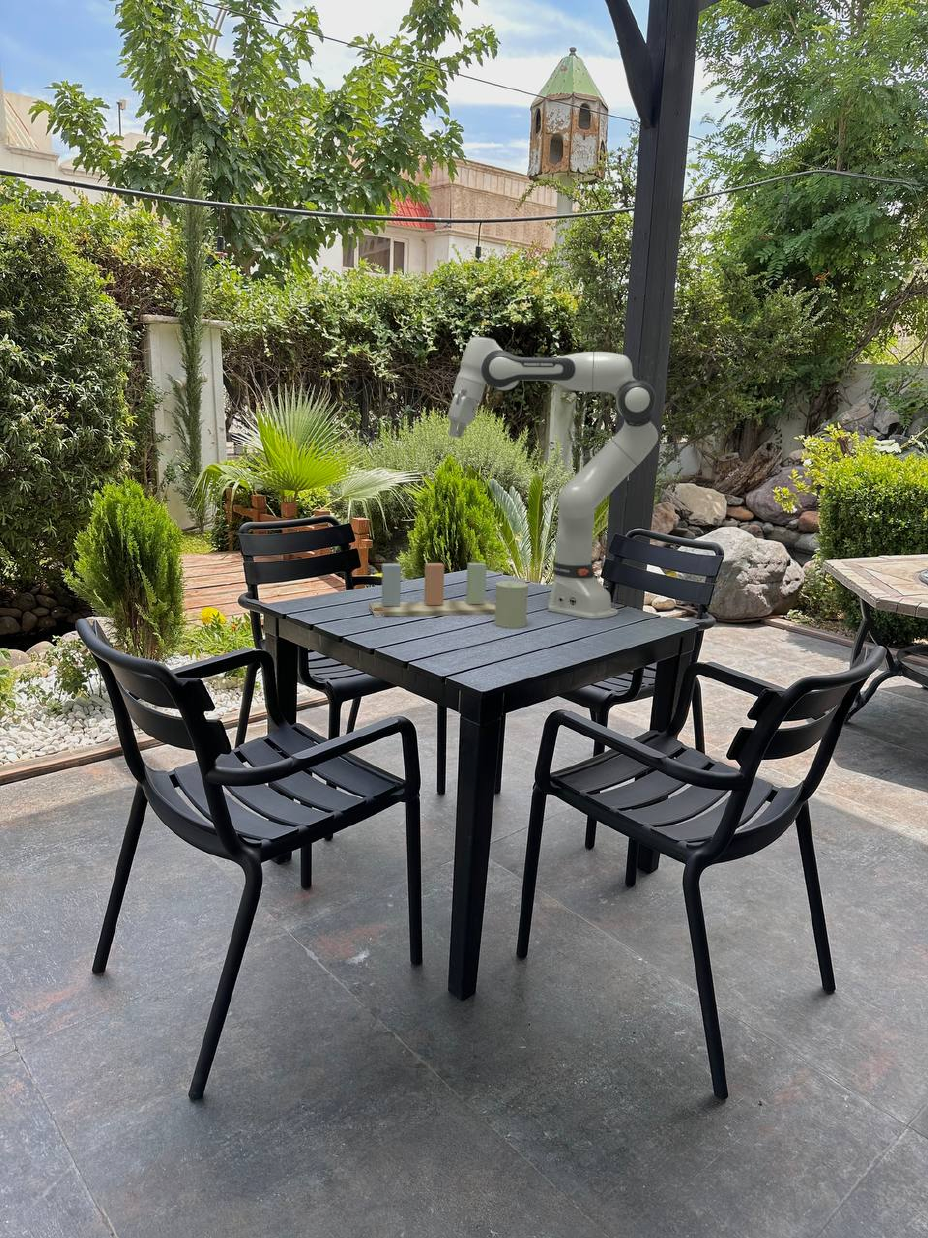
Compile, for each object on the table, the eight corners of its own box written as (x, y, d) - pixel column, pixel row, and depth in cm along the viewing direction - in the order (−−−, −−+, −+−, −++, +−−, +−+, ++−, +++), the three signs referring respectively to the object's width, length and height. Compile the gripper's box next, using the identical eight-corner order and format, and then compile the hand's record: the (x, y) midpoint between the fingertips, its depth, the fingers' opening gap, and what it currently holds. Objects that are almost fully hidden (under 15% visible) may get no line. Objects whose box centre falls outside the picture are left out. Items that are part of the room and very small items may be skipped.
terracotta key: (440, 601, 241) (441, 562, 239) (443, 604, 238) (444, 565, 235) (424, 602, 240) (425, 563, 237) (426, 605, 237) (427, 565, 234)
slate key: (398, 602, 239) (398, 563, 236) (400, 605, 235) (400, 565, 232) (381, 603, 237) (382, 563, 234) (383, 606, 234) (383, 566, 231)
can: (490, 626, 222) (491, 584, 219) (498, 618, 231) (500, 578, 228) (522, 629, 220) (524, 587, 217) (529, 621, 228) (531, 581, 225)
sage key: (481, 600, 244) (483, 562, 242) (485, 603, 241) (486, 564, 238) (466, 601, 243) (467, 562, 240) (469, 604, 240) (470, 565, 237)
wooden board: (491, 604, 248) (491, 598, 247) (501, 614, 236) (501, 607, 236) (369, 607, 239) (369, 601, 238) (374, 617, 228) (374, 610, 227)
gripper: (471, 391, 226) (457, 438, 230) (483, 397, 246) (470, 441, 249) (450, 384, 227) (437, 432, 231) (464, 391, 247) (452, 435, 250)
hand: (454, 436), depth 240 cm, fingers open, 8 cm apart
